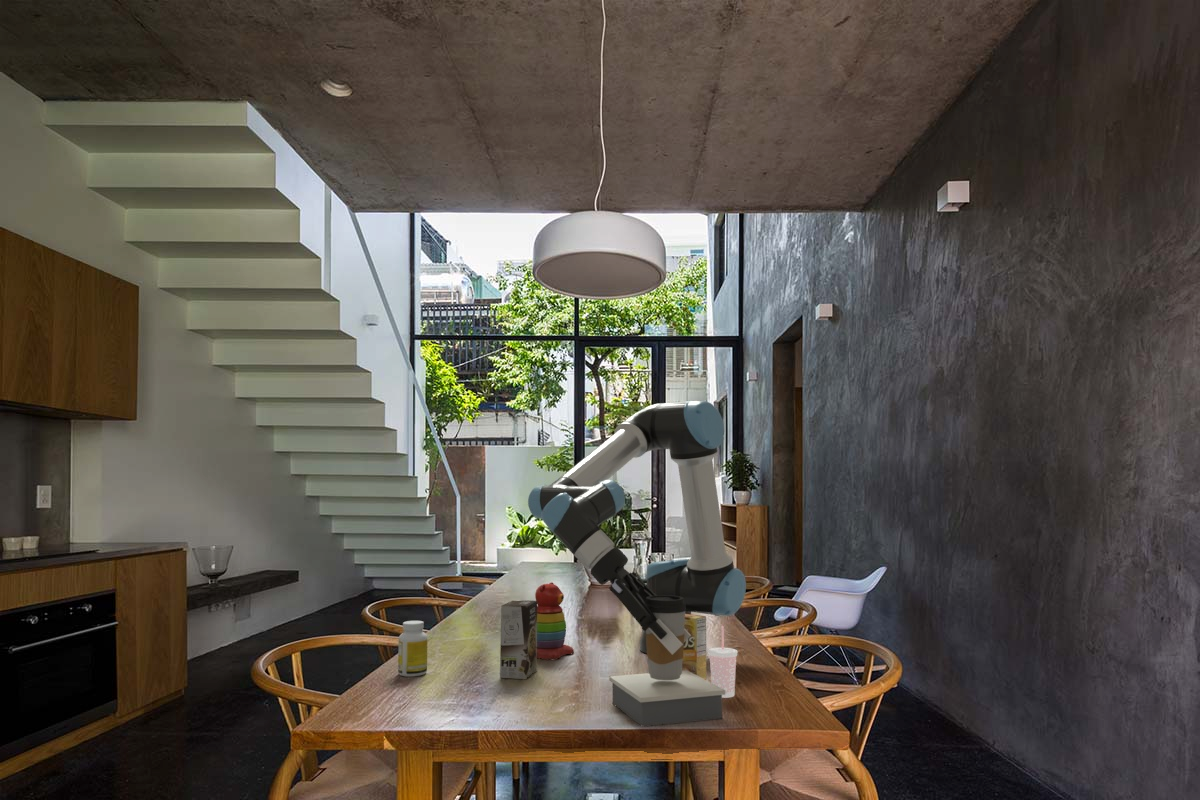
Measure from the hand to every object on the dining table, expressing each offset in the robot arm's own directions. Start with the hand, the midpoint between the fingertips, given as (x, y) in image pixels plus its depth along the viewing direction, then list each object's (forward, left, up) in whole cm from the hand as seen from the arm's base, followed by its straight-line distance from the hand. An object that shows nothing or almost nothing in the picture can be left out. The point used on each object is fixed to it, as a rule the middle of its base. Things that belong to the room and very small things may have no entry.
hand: (682, 644), depth 160 cm
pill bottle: (+46, -48, -13) cm, 67 cm away
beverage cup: (-13, -9, -13) cm, 20 cm away
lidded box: (+3, -2, -13) cm, 13 cm away
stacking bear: (+11, -58, -13) cm, 60 cm away
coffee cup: (+3, -2, -6) cm, 7 cm away
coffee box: (+23, -40, -13) cm, 48 cm away
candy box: (-8, -17, -13) cm, 23 cm away
